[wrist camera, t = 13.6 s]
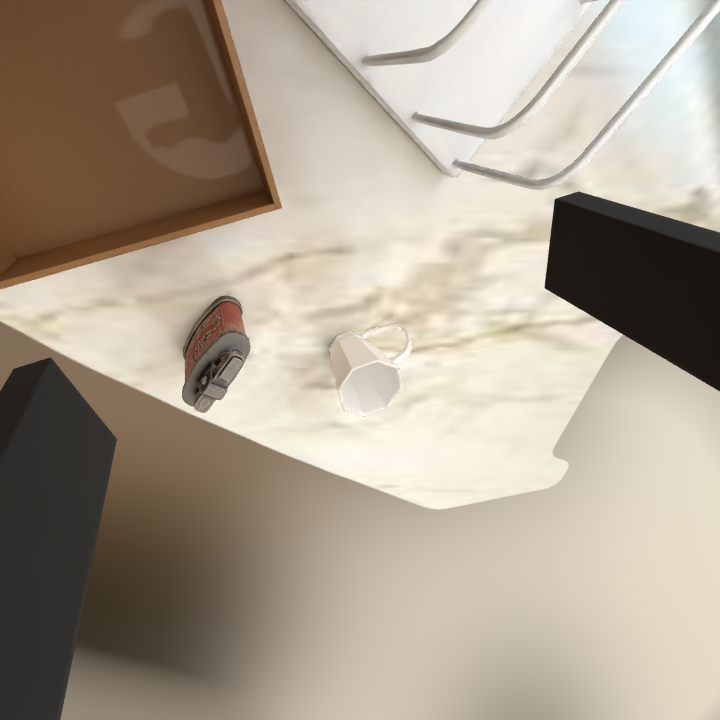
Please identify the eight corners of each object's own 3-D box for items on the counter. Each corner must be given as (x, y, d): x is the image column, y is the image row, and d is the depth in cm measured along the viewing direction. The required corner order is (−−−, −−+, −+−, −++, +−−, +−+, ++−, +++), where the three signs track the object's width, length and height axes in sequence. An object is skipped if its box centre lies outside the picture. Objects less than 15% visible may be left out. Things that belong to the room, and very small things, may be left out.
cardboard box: (-206, -25, 22) (-293, -49, 18) (186, -89, 25) (186, -121, 21) (14, 266, 32) (-10, 292, 28) (272, 194, 35) (282, 208, 31)
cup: (304, 347, 45) (323, 391, 39) (377, 291, 44) (408, 326, 38) (339, 383, 49) (361, 427, 43) (406, 333, 48) (438, 370, 42)
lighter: (206, 366, 42) (210, 431, 34) (174, 353, 40) (171, 418, 32) (249, 306, 40) (264, 360, 32) (218, 289, 38) (225, 342, 30)
